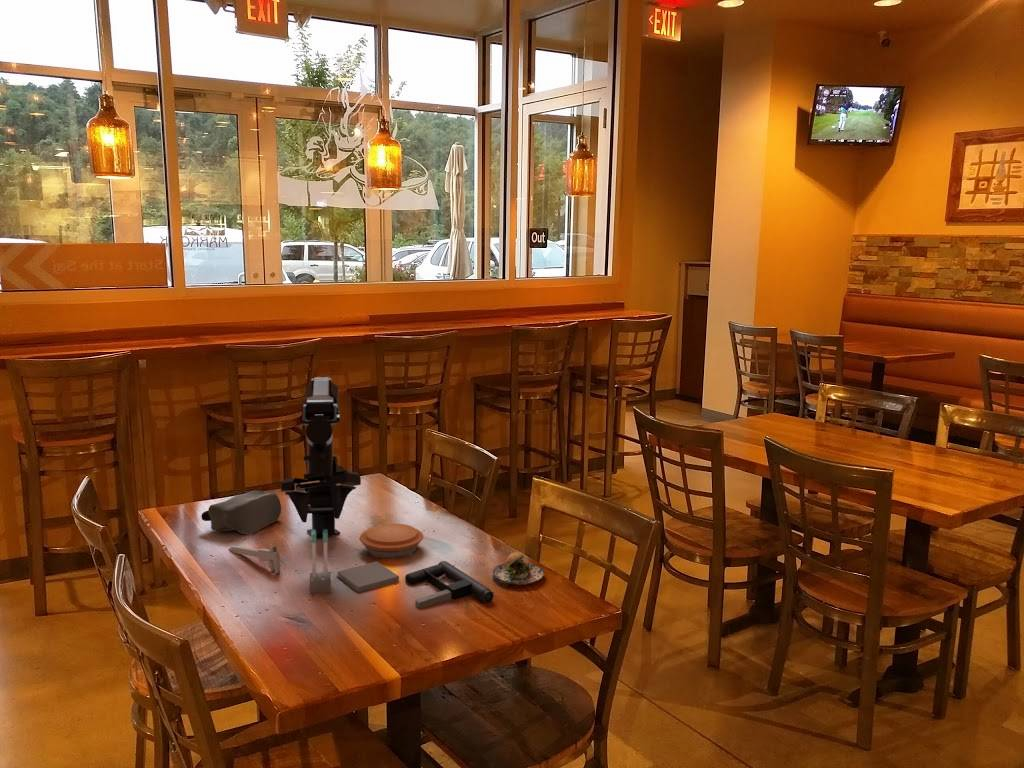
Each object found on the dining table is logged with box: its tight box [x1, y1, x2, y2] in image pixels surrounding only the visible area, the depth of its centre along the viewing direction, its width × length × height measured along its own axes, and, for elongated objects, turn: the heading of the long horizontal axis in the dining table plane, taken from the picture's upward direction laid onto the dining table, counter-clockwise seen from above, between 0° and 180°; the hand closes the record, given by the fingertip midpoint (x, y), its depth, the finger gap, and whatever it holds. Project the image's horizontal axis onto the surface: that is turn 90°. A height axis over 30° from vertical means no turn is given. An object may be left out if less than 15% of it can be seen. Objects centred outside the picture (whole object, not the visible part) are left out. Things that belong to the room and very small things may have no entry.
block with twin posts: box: [308, 529, 332, 595], centre depth 175 cm, size 4×4×13 cm
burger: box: [491, 545, 546, 589], centre depth 184 cm, size 12×12×8 cm
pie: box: [359, 523, 424, 559], centre depth 199 cm, size 16×16×5 cm
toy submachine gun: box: [404, 560, 495, 609], centre depth 176 cm, size 3×20×16 cm
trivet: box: [336, 561, 400, 593], centre depth 182 cm, size 10×10×1 cm
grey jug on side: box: [201, 490, 282, 535], centre depth 213 cm, size 20×12×8 cm, turn 153°
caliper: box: [228, 545, 281, 574], centre depth 190 cm, size 21×1×6 cm, turn 49°
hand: (320, 520), depth 184 cm, fingers open, 9 cm apart
